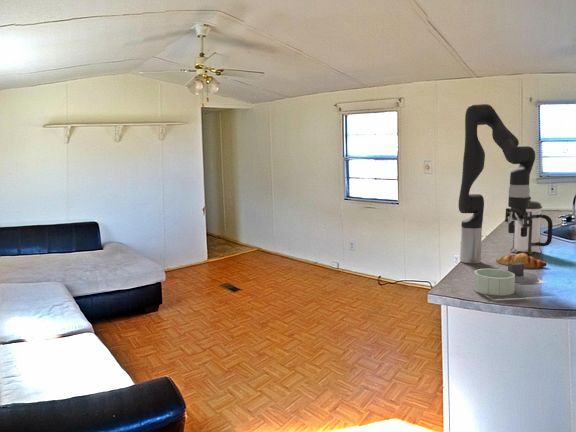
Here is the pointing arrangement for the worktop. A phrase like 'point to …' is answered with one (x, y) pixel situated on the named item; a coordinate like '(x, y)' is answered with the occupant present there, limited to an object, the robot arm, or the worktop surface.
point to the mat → (535, 282)
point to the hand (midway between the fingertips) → (517, 234)
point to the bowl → (494, 282)
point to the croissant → (521, 260)
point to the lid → (521, 273)
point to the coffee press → (531, 231)
